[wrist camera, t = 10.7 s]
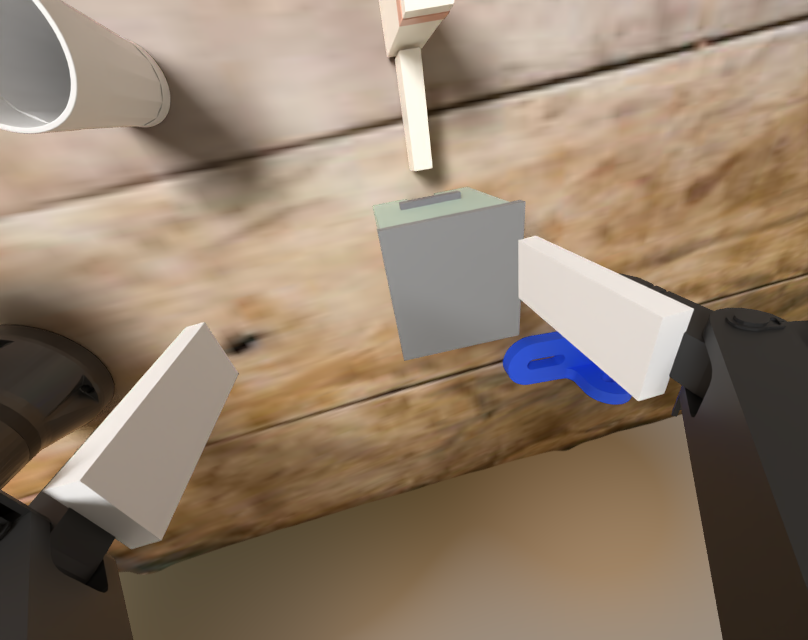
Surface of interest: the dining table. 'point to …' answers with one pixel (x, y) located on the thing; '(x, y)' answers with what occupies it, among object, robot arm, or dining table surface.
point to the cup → (73, 72)
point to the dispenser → (452, 268)
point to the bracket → (560, 367)
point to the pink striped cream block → (412, 66)
